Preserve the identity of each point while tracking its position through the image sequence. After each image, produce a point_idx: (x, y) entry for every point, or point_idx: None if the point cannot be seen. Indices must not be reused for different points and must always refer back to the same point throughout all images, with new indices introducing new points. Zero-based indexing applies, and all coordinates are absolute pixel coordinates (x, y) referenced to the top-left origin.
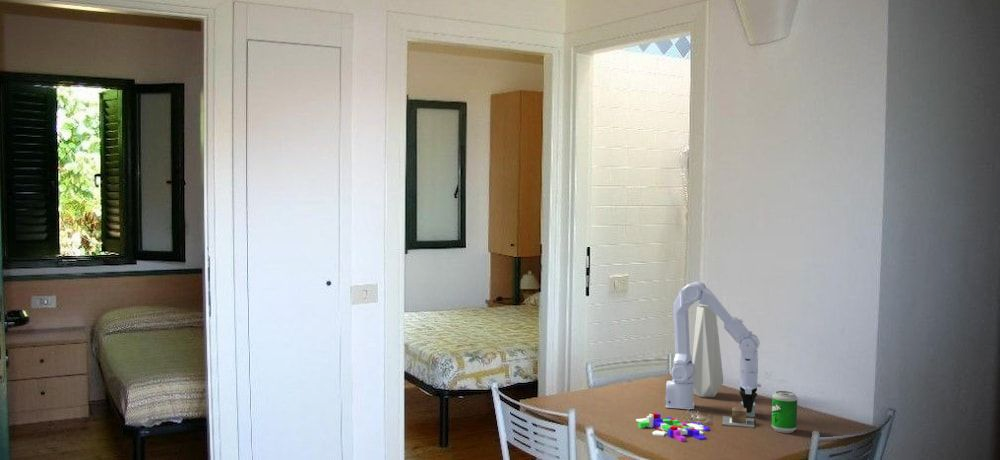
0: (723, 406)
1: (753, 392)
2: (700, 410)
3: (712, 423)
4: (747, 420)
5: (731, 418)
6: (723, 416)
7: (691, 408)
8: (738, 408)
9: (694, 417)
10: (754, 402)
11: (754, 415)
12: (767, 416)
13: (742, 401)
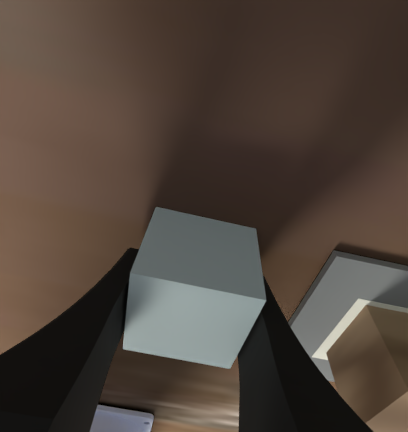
0: (32, 321)
1: (78, 390)
2: (148, 396)
3: None
4: (374, 299)
5: (316, 352)
6: None
7: (151, 422)
8: (403, 422)
9: None
10: (140, 278)
11: (255, 237)
12: (233, 126)
13: (129, 345)
